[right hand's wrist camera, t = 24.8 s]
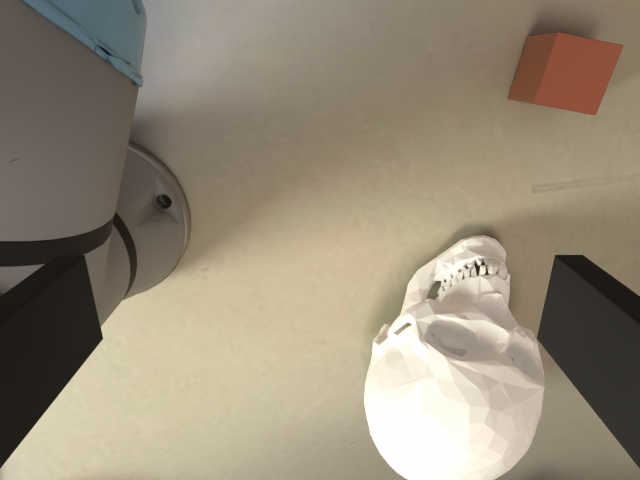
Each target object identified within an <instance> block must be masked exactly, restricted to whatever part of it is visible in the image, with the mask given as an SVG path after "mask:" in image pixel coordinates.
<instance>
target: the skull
mask: <svg viewBox="0 0 640 480" xmlns="http://www.w3.org/2000/svg"><path fill="white" fill-rule="evenodd" d="M482 262H485V265H488V266H487V268H488V273H489V275H484V274H485V273H486V266H484V265H480V264H481V263H482ZM505 262H506V251H505V249H504V248H503V247H502V246H501V245H500V244H499V243H498V241H497V240H496V239H494V238H491V237H488V236H484V235H482V236H471V237H468V238H465V239H461V240H460V241H458V242H457V243H456V244H454V245H453V246H452V247H450V248H449V249H447V250H446V251H445V252H443V253H442V254H440V255H439V256H437V257H436V258H435V259H433V260H432V261H430V262H429V263H427V264H426V265H424V266H423V267H422V268H420V269H419V270H417V271H416V273H415V274H414V276H413V277H412V279H411V280H410V282H409V283H408V287H407V291H406V296H405V300H404V303H403V307H402V311H401V313H400V316H399V317H398V318H397V319H396V320H395V322H394V323H393V324H392V325H390V324H384V325H383V327H382V328H381V330H380V333H379V334H378V335H377V336H376V337H375V338H374V339H373V348H372V358H371V363H370V366H369V370H368V373H367V378H366V383H365V397H364V404H365V410H366V416H367V420H368V425H369V429H370V433H371V436H372V438H373V441H374V443H375V445H376V447H377V448H378V450H379V452H380V454H381V455H382V456H383V457H384V459H385V460H386V461H387V463H388V464H389V465H390V466H391V467H392V468H393V469H394V470H395V471H396V472H397V473H399V474H400V475H402V476H403V477H405V478H406V479H408V480H494V479H496V478H498V477H499V476H501V475H502V474H504V473H505V472H507V471H508V470H510V469H511V468H512V467H513V466H514V465H515V464H516V463H517V462H518V461H519V460H520V459H521V457H522V456H523V455H524V454H525V453H526V452H527V450H528V449H529V447H530V445H531V442H532V440H533V437H534V434H535V431H536V428H537V425H538V422H539V419H540V415H541V412H542V402H543V393H544V388H545V381H544V380H545V375H544V370H543V365H542V359H541V356H540V352H539V348H538V343H537V340H536V337H535V335H534V333H533V331H532V330H530V329H527V328H525V327H523V326H520V325H518V324H517V322H516V320H515V319H514V317H513V315H512V313H511V312H510V310H509V308H508V303H509V297H510V274H509V273H507V268H506V265H505ZM475 263H477V265H478V266H479V265H480V272H479V275H477V274H476V269H475V266H474V264H475ZM467 266H468V267H469V268H468V269H466V268H465V267H467ZM470 270H471V277H470ZM452 276H453V278H452ZM463 276H464V277H465V279H463V280H462V278H463ZM446 279H447V280H446ZM445 280H446V282H445ZM436 281H442V282H441V287H440V289H439V291H438V292H437V294H438V295H439V296H438V297H437V298H436V299H435V300H433V299H429V298H428V299H427V300H426V298H427V296H428V294H429V292H430V289H431V287H432V286H433V284H434V283H435V282H436ZM408 323H411V325H410V326H409V327H407V324H408Z"/></svg>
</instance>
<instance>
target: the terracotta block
mask: <svg viewBox="0 0 640 480" xmlns="http://www.w3.org/2000/svg"><path fill="white" fill-rule="evenodd" d="M622 47H623V45H619V44H614V43H609V42H605V41H600V40H595V39H590V38H585V37H580V36H575V35H570V34H565V33H560V32H556V33H549V34H541V35H534V36H528V37H527V40H526V43H525V46H524V50H523V53H522V56H521V59H520V62H519V65H518V68H517V71H516V75H515V78H514V81H513V84H512V87H511V90H510V93H509V96H508V99H511V100H516V101H521V102H526V103H532V104H537V105H542V106H547V107H553V108H558V109H563V110H569V111H574V112H579V113H585V114H590V115H596V113H597V111H598V108H599V106H600V103H601V100H602V98H603V95H604V93H605V90H606V88H607V85H608V83H609V80H610V78H611V75H612V73H613V70H614V68H615V65H616V63H617V60H618V58H619V55H620V53H621V50H622Z"/></svg>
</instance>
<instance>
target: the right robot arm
mask: <svg viewBox="0 0 640 480" xmlns="http://www.w3.org/2000/svg"><path fill="white" fill-rule="evenodd" d="M146 21H147V20H146V12H145V8H144V5H143V2H142V0H0V468H1V467H2V466H3V464H4V463H5V462H6V460H7V459H8V458H9V457H10V455H11V454H12V453H13V452H14V450H15V449H16V448H17V447H18V445H19V444H20V443H21V442H22V440H23V439H24V438H25V436H26V435H27V434H28V433H29V431H30V430H31V429H32V428H33V426H34V425H35V424H36V423H37V421H38V420H39V419H40V418H41V416H42V415H43V414H44V412H45V411H46V410H47V409H48V407H49V406H50V405H51V404H52V402H53V401H54V400H55V399H56V397H57V396H58V395H59V393H60V392H61V391H62V390H63V388H64V387H65V386H66V385H67V383H68V382H69V381H70V380H71V378H72V377H73V376H74V375H75V373H76V372H77V371H78V369H79V368H80V367H81V366H82V364H83V363H84V362H85V361H86V359H87V358H88V357H89V356H90V354H91V353H92V352H93V351H94V349H95V348H96V347H97V345H98V344H99V343H100V342H101V340H102V339H103V336H102V332H101V326H102V324H103V323H104V322H105V321H106V320H107V318H108V317H109V316H110V315H111V313H112V312H113V311H114V310H115V309H116V307H117V306H118V305H119V304H120V302H121V301H122V300H125V299H127V298H129V297H131V296H134V295H136V294H139V293H142V292H144V291H147V290H149V289H150V288H152V287H154V286H156V285H157V284H159V283H160V282H162V281H163V280H164V279H165V278H166V277H167V276H168V275H169V274H170V273H171V272H172V271H173V270H174V268H175V267H176V266H177V264H178V263H179V261H180V260H181V258H182V257H183V255H184V253H185V251H186V248H187V245H188V242H189V237H190V229H191V220H190V212H189V208H188V204H187V201H186V198H185V196H184V193H183V191H182V189H181V187H180V185H179V184H178V182H177V181H176V179H175V178H174V176H173V175H172V174H171V172H170V171H169V170H168V169H167V168H166V167H165V166H164V165H163V164H162V163H161V162H160V161H159V160H158V159H157V158H155V157H154V156H153V155H151V154H150V153H149V152H147V151H146V150H144V149H142V148H141V147H139V146H137V145H135V144H132V143H130V142H129V137H130V132H131V126H132V121H133V116H134V111H135V105H136V100H137V95H138V90H139V87H142V85H143V78H142V75H141V74H140V71H141V63H142V55H143V47H144V40H145V32H146ZM537 339H538V340H539V342H540V343H541V344H542V345H543V347H544V348H545V349H546V351H547V352H548V353H549V354H550V356H551V357H552V358H553V359H554V361H555V362H556V363H557V364H558V366H559V367H560V368H561V369H562V371H563V372H564V373H565V375H566V376H567V377H568V378H569V380H570V381H571V382H572V383H573V385H574V386H575V387H576V388H577V390H578V391H579V392H580V393H581V395H582V396H583V397H584V399H585V400H586V401H587V402H588V404H589V405H590V406H591V407H592V409H593V410H594V411H595V412H596V414H597V415H598V416H599V418H600V419H601V420H602V421H603V423H604V424H605V425H606V426H607V428H608V429H609V430H610V431H611V433H612V434H613V435H614V436H615V438H616V439H617V440H618V442H619V443H620V444H621V445H622V447H623V448H624V449H625V450H626V452H627V453H628V454H629V455H630V457H631V458H632V459H633V460H634V462H635V463H636V464H637V466H638V467H639V468H640V296H638V295H637V294H636V293H634V292H633V291H631V290H630V289H629V288H627V287H626V286H624V285H623V284H622V283H620V282H619V281H618V280H616V279H615V278H613V277H612V276H611V275H609V274H608V273H607V272H605V271H604V270H602V269H601V268H600V267H598V266H597V265H596V264H594V263H593V262H591V261H590V260H589V259H587V258H586V257H585V256H583V255H555V258H554V263H553V267H552V272H551V277H550V281H549V286H548V290H547V295H546V300H545V304H544V309H543V313H542V318H541V323H540V327H539V332H538V336H537Z"/></svg>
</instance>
